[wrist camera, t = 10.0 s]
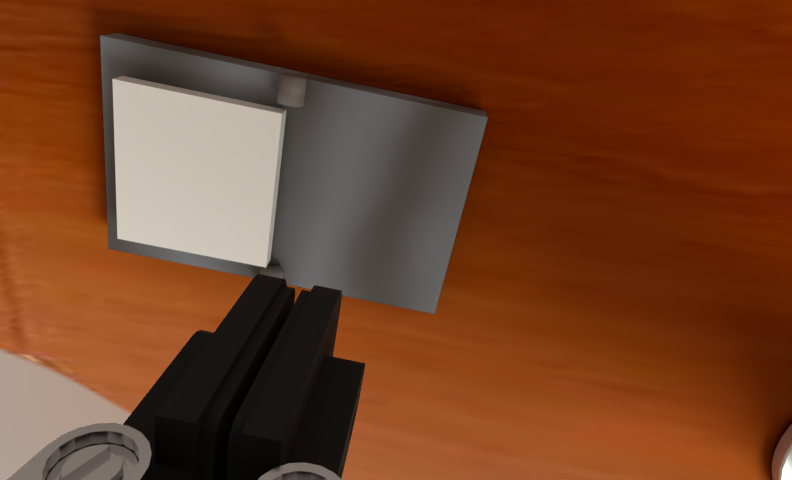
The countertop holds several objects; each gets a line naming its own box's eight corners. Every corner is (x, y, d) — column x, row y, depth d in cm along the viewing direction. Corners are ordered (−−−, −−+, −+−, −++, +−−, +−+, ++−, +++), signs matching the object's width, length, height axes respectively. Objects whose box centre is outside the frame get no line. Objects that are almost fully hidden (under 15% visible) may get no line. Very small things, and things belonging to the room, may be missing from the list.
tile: (112, 78, 24) (126, 74, 25) (117, 238, 27) (129, 228, 28) (281, 113, 24) (288, 108, 25) (265, 267, 28) (271, 256, 29)
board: (485, 108, 26) (491, 120, 24) (434, 301, 31) (434, 327, 28) (117, 30, 26) (84, 35, 23) (123, 238, 30) (96, 260, 28)
